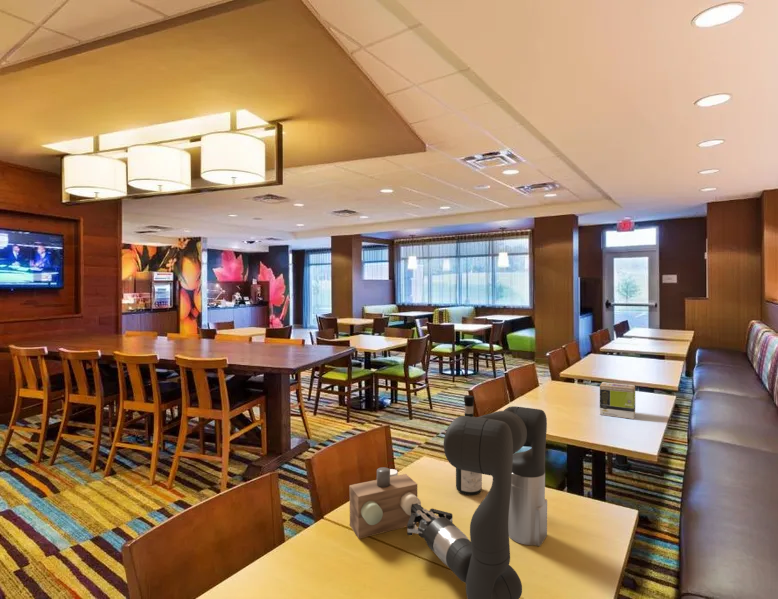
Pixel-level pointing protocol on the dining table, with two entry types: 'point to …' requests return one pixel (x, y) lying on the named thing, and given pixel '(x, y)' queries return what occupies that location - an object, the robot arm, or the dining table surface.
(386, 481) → the dark grey cylinder
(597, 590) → the dining table surface
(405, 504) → the knob cream
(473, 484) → the wine bottle
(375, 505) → the knob sage
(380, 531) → the brown wooden block
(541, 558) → the dining table surface
